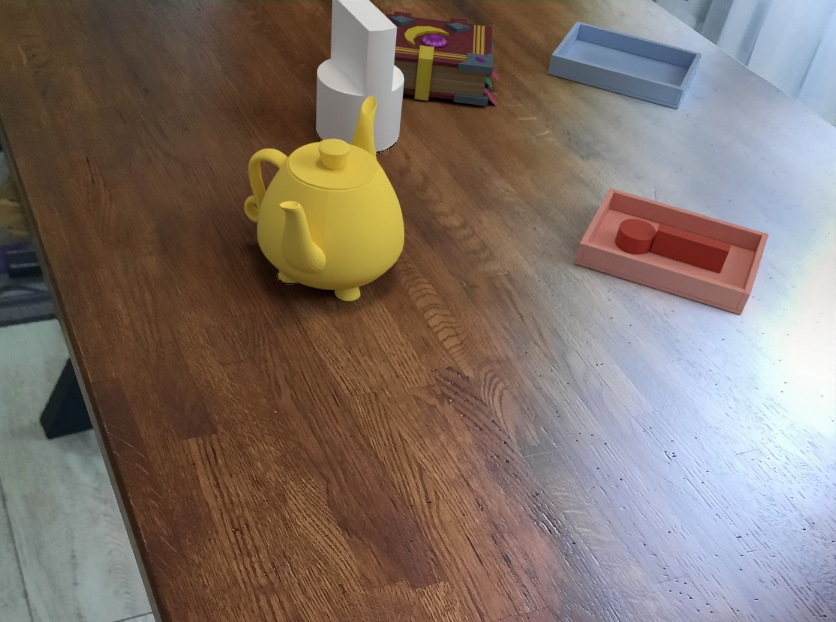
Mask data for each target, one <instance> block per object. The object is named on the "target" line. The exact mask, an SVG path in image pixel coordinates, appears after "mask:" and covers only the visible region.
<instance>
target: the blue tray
mask: <svg viewBox="0 0 836 622" xmlns="http://www.w3.org/2000/svg"><path fill="white" fill-rule="evenodd" d="M702 56H703V53H702V52H697V51H694V50H689V49H687V48H683V47H679V46H674V45H671V44H668V43H667V44H666V43H663V42H659V41H656V40H651V39H648V38H643V37H639V36H636V35H632V34H628V33H624V32H620V31H617V30H613V29H609V28H606V27H602V26H598V25H594V24H590V23H586V22H582V21H578V20H577V21H576V22H575V23H574V25H573V26H572V27H571V29H570V30H569V31H568V32H567V34H566V35H565V36H564V38H563V39H562V40H561V42H560V43H559V44H558V46H557V47H556V48H555V50H554V51H553V52H552V54H551V56H550V60H549V64H548V70H547V75H549V76H550V75H551V76H554V77H558V78H562V79H564V80H569V81H573V82H576V83H580V84H584V85H588V86H591V87H594V88H598V89H601V90H605V91H610V92H613V93H616V94H620V95H624V96H628V97H632V98H634V99H639V100H643V101H647V102H650V103H654V104H658V105H661V106H663V107H664V106H665V107H668V108H671V109H675V110H678V109H679V107H680V105H681V103H682V101H683V99H684V97H685V95H686V93H687V91H688V89H689V87H690V85H691V84H692V81H693V79H694V77H695V75H696V74H697V71H698V68H699V65H700V62H701V59H702Z"/></svg>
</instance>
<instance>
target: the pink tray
mask: <svg viewBox="0 0 836 622" xmlns="http://www.w3.org/2000/svg"><path fill="white" fill-rule="evenodd" d="M627 219H639V220H643V221H646V222H648V223H650V224H651V225H652V226H653V227H654V228H655V229H656V232H657V229H658V227H659V225H664V226H668V227H671V228H674V229H678V230H681V231H684V232H688V233H691V234H694V235H698V236H701V237H705V238H708V239H711V240H715V241H718V242H721V243H725V244H728V245H731V248H730V251H729V254H728V256H727V258H726V261H725V263H724V265H723V268H722V270H721V273H717V272H714V271H710V270H707V269H704V268H700V267H697V266H694V265H691V264H687V263H684V262H681V261H677V260H674V259H671V258H667V257H664V256H661V255H658V254H654V253H651V252H650V251H649V252H647V253H645V254H630V253H627V252H625V251H623V250H621V249H620V248H619V247H618V246H617V245H616V243H615V238H616V235H617V232H618V228H619V225H620V223H621V222H622V221H624V220H627ZM768 239H769V233H767V232H763V231H759V230H756V229H753V228H749V227H746V226H742V225H739V224H736V223H732V222H728V221H725V220H722V219H718V218H715V217H711V216H708V215H706V214H705V215H704V214H702V213H698V212H694V211H691V210H687V209H684V208H681V207H677V206H673V205H670V204H668V203H667V204H666V203H664V202H659V201H657V200H653V199H649V198H647V197H644V196H643V197H642V196H639V195H635V194H631V193H629V192H625V191H622V190H619V189H615V188H612V187H609V188H608V190H607V192H606V194H605V195H604V198H603V199H602V201H601V203H600V205H599V206H598V208H597V211H596V212H595V214H594V216H593V218H592V220H591V222H590V223H589V225H588V227H587V228H586V231H585V233H584V234H583V236H582V237H581V240H580V242H579V245H578V249H577V252H576V255H575V260H574V265H577V266H580V267H584V268H588V269H591V270H594V271H597V272H600V273H604V274H606V275H610V276H613V277H617V278H620V279H623V280H627V281H630V282H633V283H636V284H640V285H642V286H645V287H649V288H653V289H655V290H658V291H662V292H665V293H669V294H672V295H674V296H675V295H676V296H679V297H682V298H685V299H688V300H691V301H695V302H697V303H702V304H705V305H708V306H710V307H714V308H717V309H720V310H724V311H727V312H729V313H730V312H731V313H734V314H737V315H742V313H743V311H744V309H745V307H746V305H747V303H748V301H749V298H750V296H751V292H752V290H753V287H754V283H755V280H756V277H757V274H758V270H759V267H760V264H761V261H762V258H763V254H764V251H765V248H766V245H767V241H768Z"/></svg>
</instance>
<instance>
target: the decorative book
mask: <svg viewBox="0 0 836 622" xmlns="http://www.w3.org/2000/svg"><path fill="white" fill-rule="evenodd" d="M383 14H384V15H385V16H386V17H387V18H388V19H389V20H390V21H391V22H392V23H393V24H394V25H395V26H396V27H397V33H396V45H395V58H394V65H395V66H396V67H397V68H399V69H400V71H401V72H402V73H403V76H404V87H403V95H412V96H414V100H419V101H420V100H421V101H429V98H435V99H446V100H453V103H459V104H460V103H461V104H469V105H476V106H484V107H488V102H489V100H490V102H492V104H493V105H495V106H497V100H496V99H495V97H493V96H492V94H491V92H490V91H489V87H490V89H491V90H493V83H492V82H491V80H490V78H489V77H488V75H492V77H493V78H494V80H496V81H497V82H498V81H499V75H498V74H497V73H496V72H495V71H494V52H495V46H494V42H493V26H488V25H479V24H471V23H468V19H462V18H461V19H460V18H453V17H449V21H446V20H440V19H439V20H438V19H430V18H422V17H413V16H412V13H411V12H405V11H396V10H394V11H393V14H388V13H383ZM493 51H494V52H493Z"/></svg>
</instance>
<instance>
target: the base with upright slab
mask: <svg viewBox="0 0 836 622" xmlns="http://www.w3.org/2000/svg"><path fill="white" fill-rule="evenodd" d="M331 1H332V3H331V5H332V6H331V34H330V35H331V36H330V41H331V42H330V58H329V59H326V60H324V61H323V62H322V63H321V64H319V65H318V68H317V69H316V106H315V107H316V108H315V109H316V111H315V112H316V113H315V114H316V117H315V124H316V125H315V132H316V131H317V133H318V134H319V136H320V137H321V138H322V139H323V140H325V139H339V140H343V141H345V142H347V143H348V144H350V145H351V142H352V138H353V135H354V132H355V128H356V124H357V121H358V117H359V113H360V109H361V106H362V104H363V102H364V101H365V100H366V99H367V98H368V97H370V96H374V97H375V98H376V100H377V107H376V112H375V117H374V143H375V152H377V151H381V150H385V149H387V148H389V147H390V146H392V145H393V144H394V143H395V142H397V143H398V141H399V139H398V137H399V138H400V129H401V120H402V109H403V96H404V94H403V87H404V76H403V73H402V72H401V71H400V69H399V68H397V67H396V66H395V65H394V58H395V45H396V33H397V27H396V26H395V25H394V24H393V23H392V22H391V21H390V20H389V19H388V18H387V17H386V16H385V15H384V14H385V13H383V12H382V11H381V10H380V9H379V8H378V7H377V6H376V5H374V3H372V2H371V0H331ZM397 140H398V141H397Z"/></svg>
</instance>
